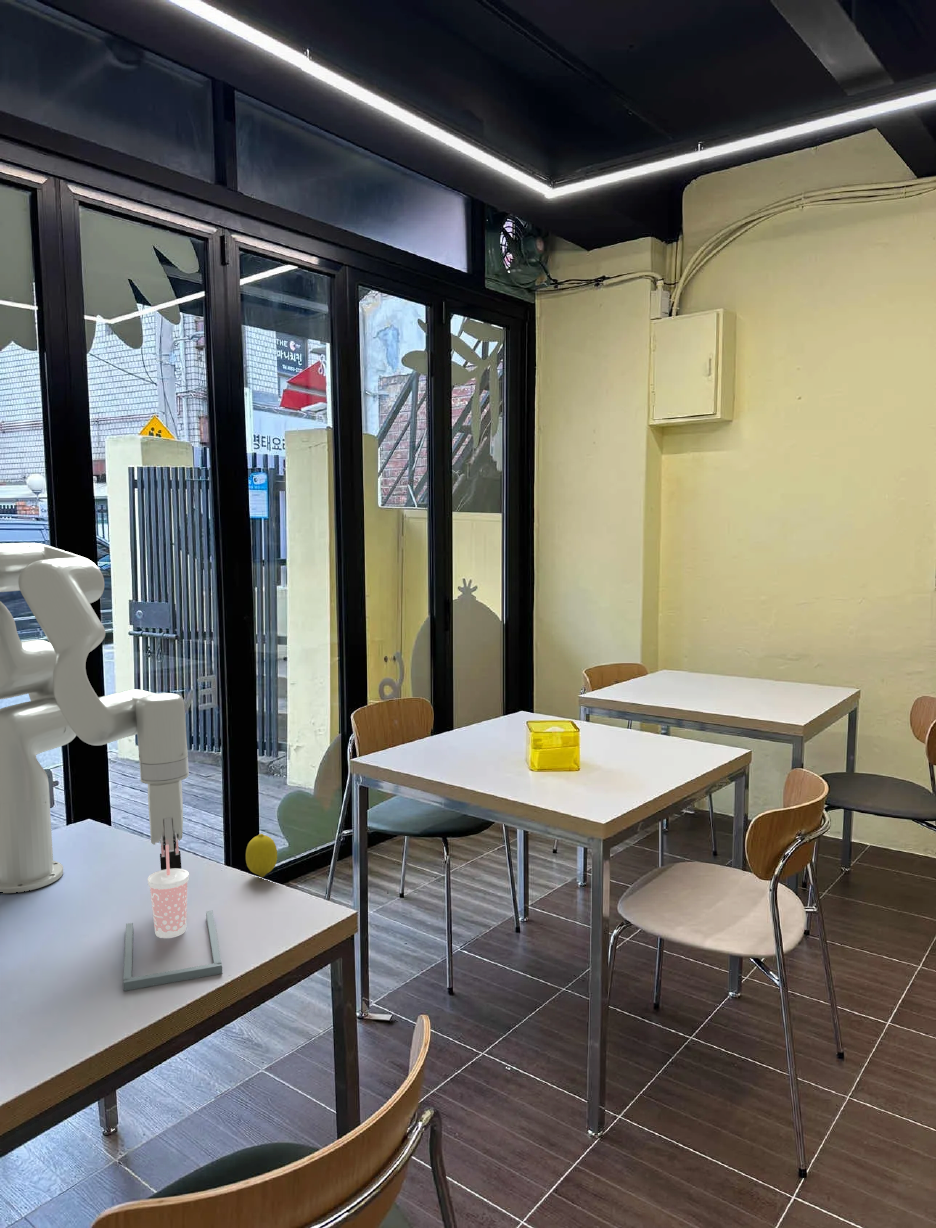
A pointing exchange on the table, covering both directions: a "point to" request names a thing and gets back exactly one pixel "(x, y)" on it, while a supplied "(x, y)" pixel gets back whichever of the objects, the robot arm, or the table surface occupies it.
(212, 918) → the slate channel
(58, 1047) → the table surface
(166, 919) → the beverage cup
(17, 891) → the robot arm
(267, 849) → the lemon
